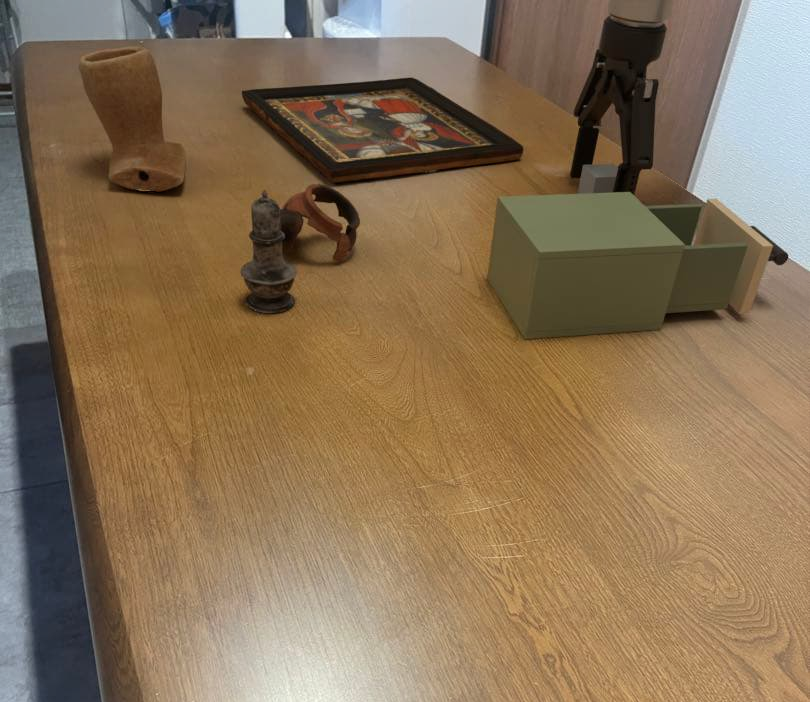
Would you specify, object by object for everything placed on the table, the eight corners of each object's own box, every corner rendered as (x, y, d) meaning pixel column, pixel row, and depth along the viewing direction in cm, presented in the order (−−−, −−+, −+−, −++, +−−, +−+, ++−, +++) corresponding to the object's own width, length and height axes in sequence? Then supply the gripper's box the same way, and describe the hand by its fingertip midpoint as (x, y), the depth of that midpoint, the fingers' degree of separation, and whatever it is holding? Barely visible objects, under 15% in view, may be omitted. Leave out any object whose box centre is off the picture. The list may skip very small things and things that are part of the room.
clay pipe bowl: (103, 154, 122) (82, 33, 111) (189, 155, 123) (177, 36, 113) (89, 197, 111) (65, 68, 101) (185, 197, 112) (170, 70, 102)
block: (576, 198, 120) (583, 164, 117) (606, 196, 121) (613, 163, 118) (588, 211, 117) (595, 177, 114) (619, 210, 118) (627, 176, 114)
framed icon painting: (543, 156, 131) (546, 136, 129) (344, 197, 115) (344, 175, 113) (402, 85, 153) (403, 67, 151) (218, 111, 138) (217, 91, 136)
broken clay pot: (301, 228, 109) (334, 175, 103) (346, 284, 107) (382, 233, 102) (231, 232, 100) (263, 174, 94) (279, 293, 98) (314, 238, 93)
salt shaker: (268, 283, 97) (262, 173, 88) (309, 300, 94) (306, 189, 86) (231, 302, 93) (221, 190, 85) (272, 321, 91) (266, 207, 83)
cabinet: (611, 272, 104) (630, 191, 97) (660, 329, 94) (685, 244, 87) (486, 279, 100) (497, 196, 94) (524, 339, 91) (539, 251, 84)
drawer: (731, 261, 106) (752, 197, 100) (785, 310, 97) (811, 243, 92) (585, 269, 102) (599, 202, 96) (628, 321, 93) (646, 252, 88)
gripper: (569, -7, 111) (541, 162, 126) (652, 48, 94) (607, 237, 109) (623, -6, 113) (589, 161, 128) (714, 49, 96) (662, 235, 110)
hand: (597, 197), depth 118 cm, fingers open, 13 cm apart
